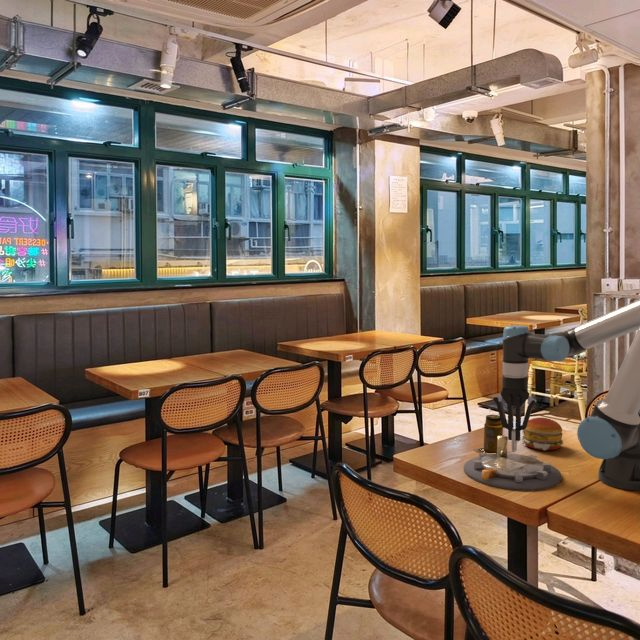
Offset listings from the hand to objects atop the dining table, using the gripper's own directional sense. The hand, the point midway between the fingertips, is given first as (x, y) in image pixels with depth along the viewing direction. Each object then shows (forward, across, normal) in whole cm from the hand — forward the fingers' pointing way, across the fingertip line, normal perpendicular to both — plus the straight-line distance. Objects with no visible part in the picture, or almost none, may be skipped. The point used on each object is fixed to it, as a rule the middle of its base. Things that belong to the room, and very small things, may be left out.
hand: (513, 450), depth 193 cm
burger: (+5, -5, -25) cm, 26 cm away
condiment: (+5, +10, -12) cm, 16 cm away
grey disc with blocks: (+4, -1, +7) cm, 8 cm away
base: (+5, -1, +7) cm, 9 cm away
